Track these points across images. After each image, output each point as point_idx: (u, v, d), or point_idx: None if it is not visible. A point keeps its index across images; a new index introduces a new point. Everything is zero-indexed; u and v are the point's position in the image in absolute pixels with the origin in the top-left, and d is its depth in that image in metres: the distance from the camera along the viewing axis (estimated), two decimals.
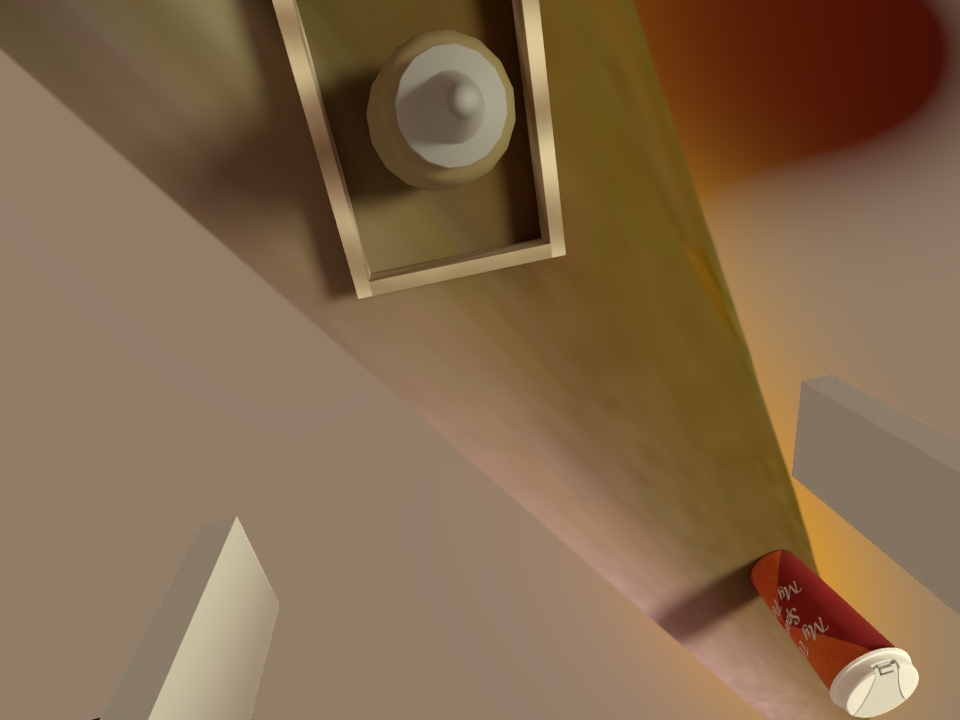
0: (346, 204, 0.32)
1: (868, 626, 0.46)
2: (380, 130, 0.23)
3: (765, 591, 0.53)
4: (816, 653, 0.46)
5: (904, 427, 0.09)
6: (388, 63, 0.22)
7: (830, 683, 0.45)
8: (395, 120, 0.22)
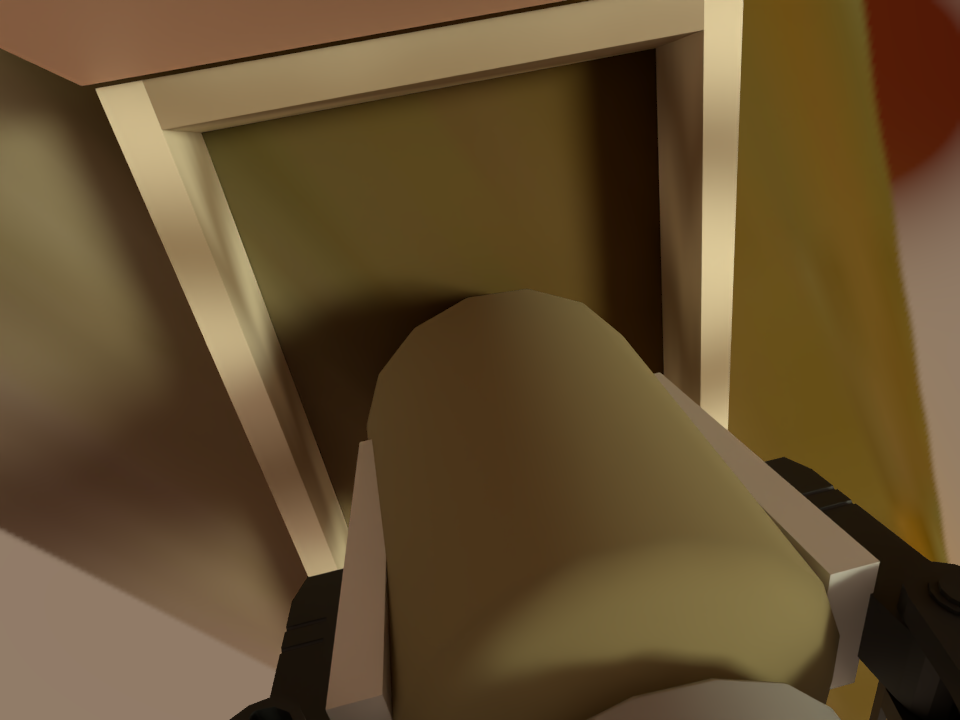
0: (327, 547, 0.17)
1: None
2: None
3: None
4: None
5: (690, 418, 0.11)
6: (449, 649, 0.06)
7: None
8: None
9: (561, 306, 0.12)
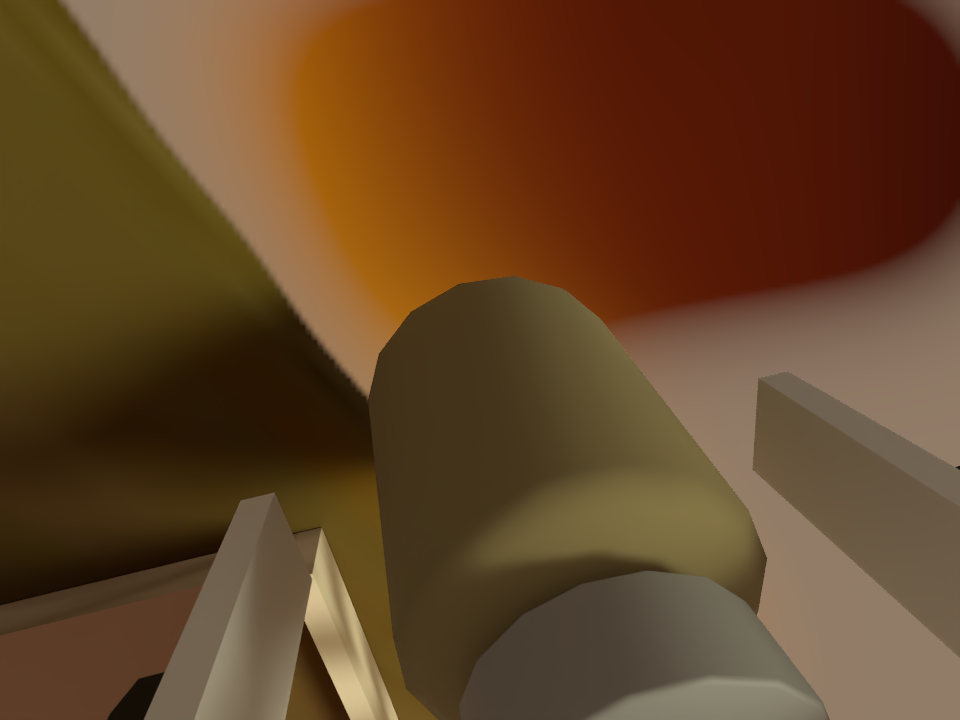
0: None
1: None
2: (408, 684, 0.08)
3: None
4: None
5: (847, 421, 0.10)
6: (437, 557, 0.07)
7: None
8: (454, 692, 0.08)
9: (543, 291, 0.14)
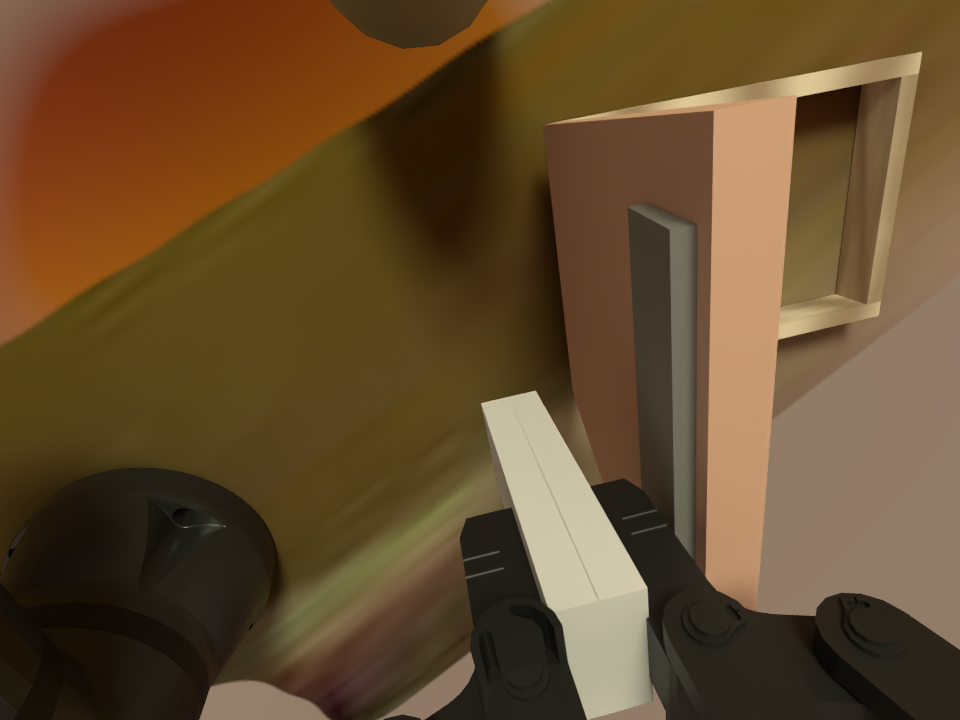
0: (791, 322, 0.32)
1: None
2: None
3: None
4: None
5: (542, 439, 0.11)
6: None
7: None
8: None
9: None
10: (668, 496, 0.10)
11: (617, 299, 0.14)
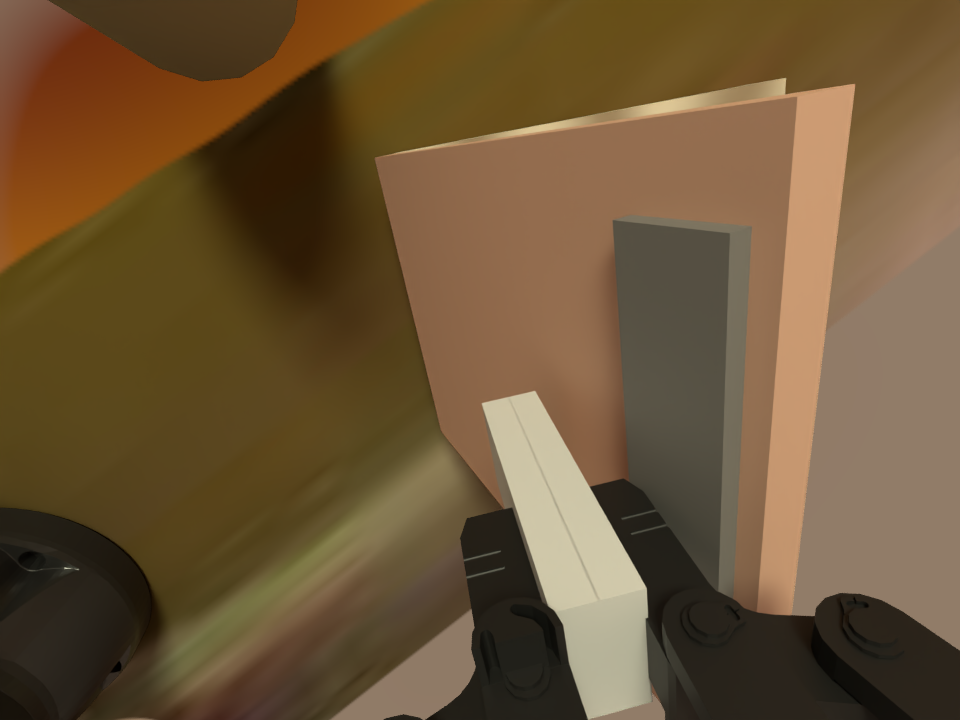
0: None
1: None
2: (130, 1, 0.13)
3: None
4: None
5: (541, 439, 0.11)
6: None
7: None
8: None
9: None
10: (703, 523, 0.09)
11: (551, 325, 0.13)
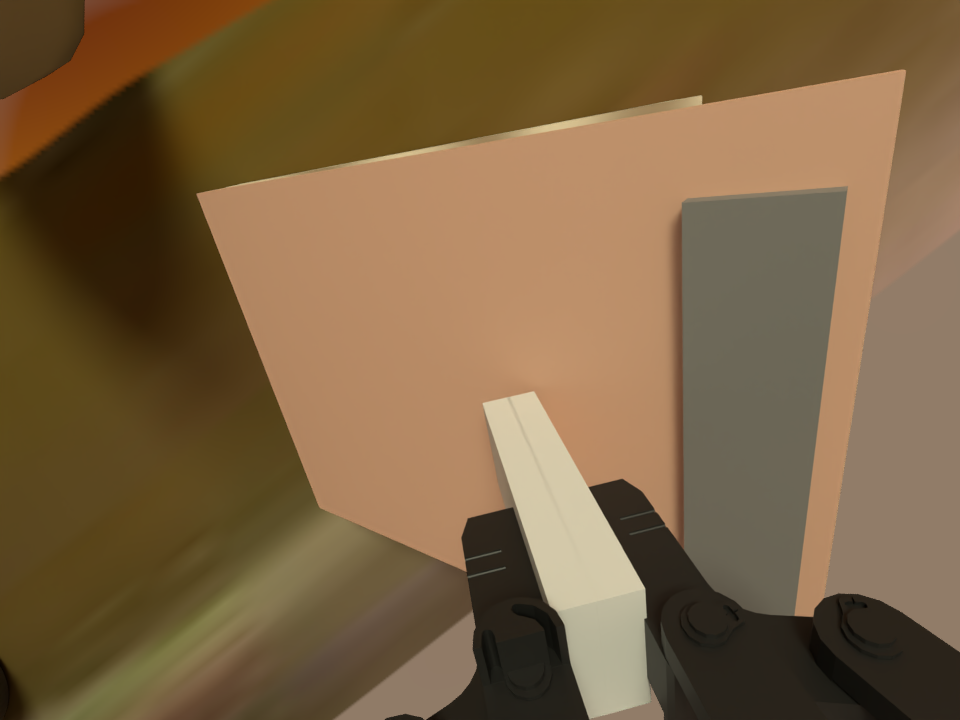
0: None
1: None
2: None
3: None
4: None
5: (540, 439, 0.11)
6: None
7: None
8: None
9: None
10: (789, 467, 0.10)
11: (550, 332, 0.12)
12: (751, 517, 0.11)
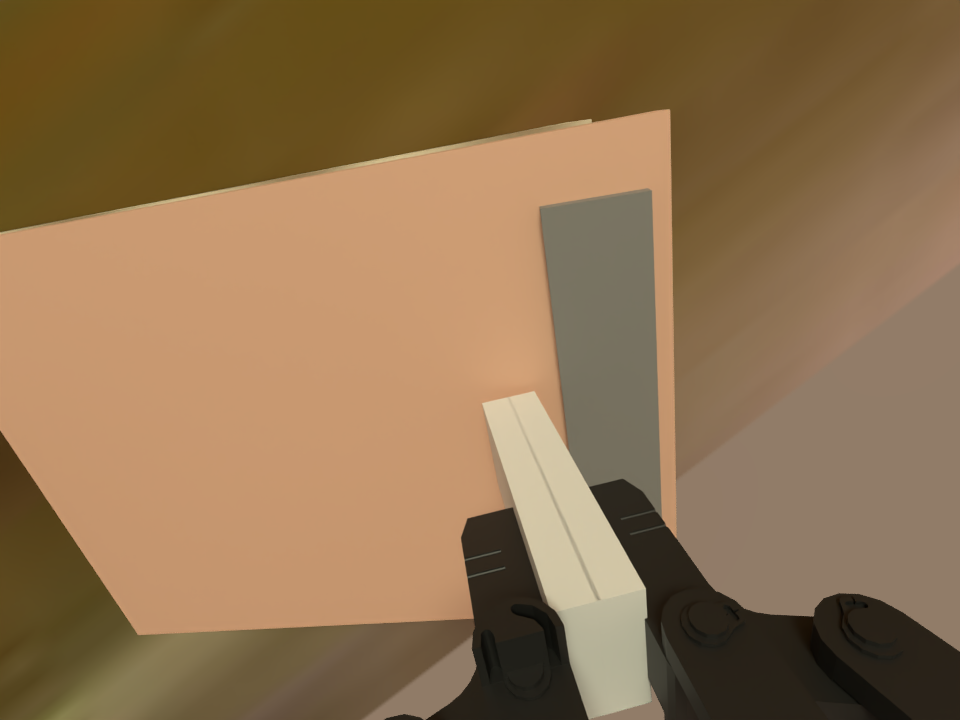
0: None
1: None
2: None
3: None
4: None
5: (541, 439, 0.11)
6: None
7: None
8: None
9: None
10: (643, 404, 0.13)
11: (431, 342, 0.13)
12: (622, 454, 0.14)
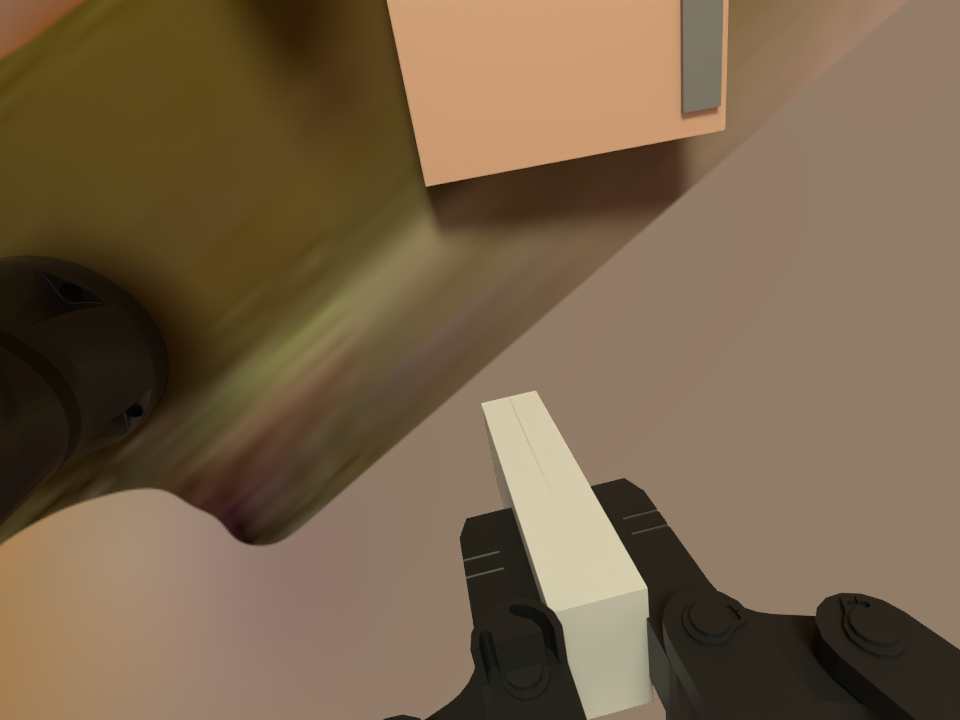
0: None
1: None
2: None
3: None
4: None
5: (542, 439, 0.11)
6: None
7: None
8: None
9: None
10: None
11: None
12: (706, 13, 0.30)
